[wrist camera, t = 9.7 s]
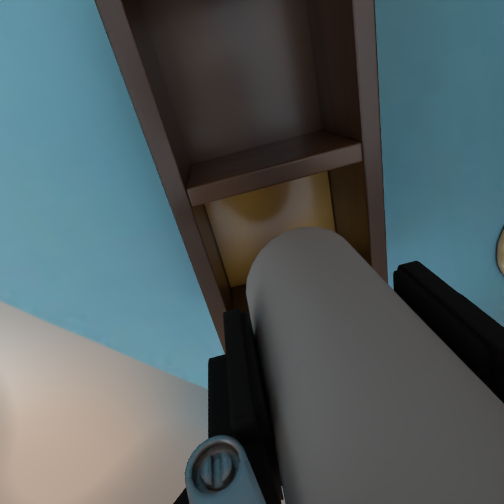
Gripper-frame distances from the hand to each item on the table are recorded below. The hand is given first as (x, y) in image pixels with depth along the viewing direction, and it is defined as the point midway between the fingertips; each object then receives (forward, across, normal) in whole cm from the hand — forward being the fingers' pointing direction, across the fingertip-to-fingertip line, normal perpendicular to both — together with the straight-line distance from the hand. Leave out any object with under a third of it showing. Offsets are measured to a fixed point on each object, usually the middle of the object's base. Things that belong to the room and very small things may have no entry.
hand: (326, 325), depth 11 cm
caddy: (+10, 0, -4) cm, 11 cm away
